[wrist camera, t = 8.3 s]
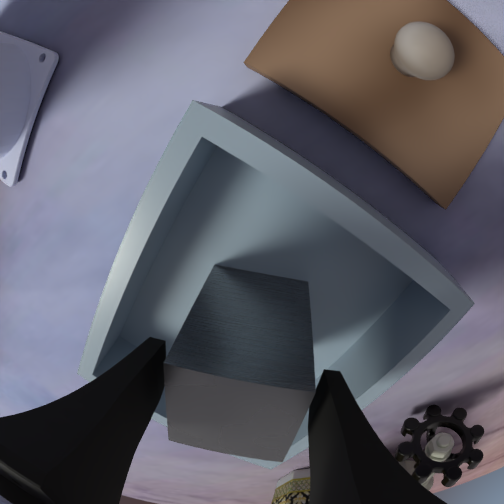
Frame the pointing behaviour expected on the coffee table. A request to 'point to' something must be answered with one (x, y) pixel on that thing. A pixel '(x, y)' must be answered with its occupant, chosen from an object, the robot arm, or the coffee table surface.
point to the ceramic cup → (293, 488)
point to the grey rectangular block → (242, 366)
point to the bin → (271, 259)
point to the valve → (438, 447)
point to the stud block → (393, 80)
